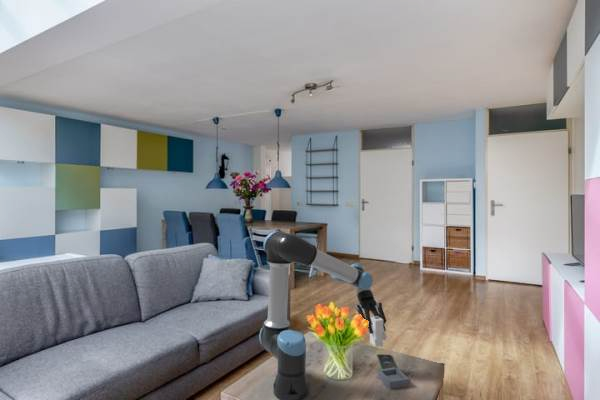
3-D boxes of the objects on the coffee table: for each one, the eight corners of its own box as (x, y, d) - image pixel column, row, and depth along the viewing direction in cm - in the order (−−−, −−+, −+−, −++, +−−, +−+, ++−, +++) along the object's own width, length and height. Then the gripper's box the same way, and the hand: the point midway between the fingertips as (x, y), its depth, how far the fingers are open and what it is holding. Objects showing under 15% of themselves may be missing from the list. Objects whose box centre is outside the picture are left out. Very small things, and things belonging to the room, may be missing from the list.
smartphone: (381, 369, 165) (376, 354, 180) (381, 371, 165) (376, 355, 180) (398, 369, 164) (391, 354, 179) (398, 371, 164) (391, 356, 179)
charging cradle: (389, 389, 149) (389, 382, 149) (377, 376, 159) (377, 370, 159) (409, 385, 151) (409, 378, 151) (396, 373, 161) (396, 367, 161)
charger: (375, 346, 161) (375, 319, 161) (369, 342, 166) (370, 315, 166) (382, 345, 163) (383, 318, 162) (377, 341, 167) (377, 314, 167)
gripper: (376, 295, 181) (393, 340, 166) (346, 298, 176) (360, 345, 161) (382, 287, 176) (400, 333, 161) (350, 290, 171) (366, 338, 155)
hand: (380, 339), depth 161 cm, fingers closed on charger, 4 cm apart
